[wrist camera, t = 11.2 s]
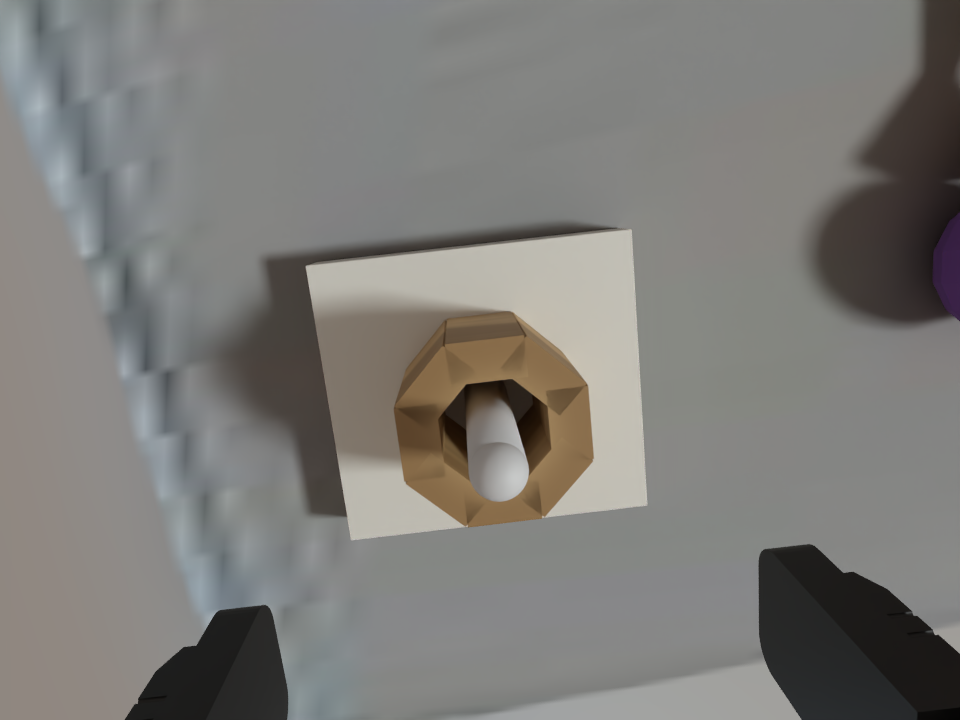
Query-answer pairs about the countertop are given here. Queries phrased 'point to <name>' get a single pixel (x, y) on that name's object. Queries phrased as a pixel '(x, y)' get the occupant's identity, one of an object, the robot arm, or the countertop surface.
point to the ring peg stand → (487, 405)
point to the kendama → (948, 267)
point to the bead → (543, 429)
